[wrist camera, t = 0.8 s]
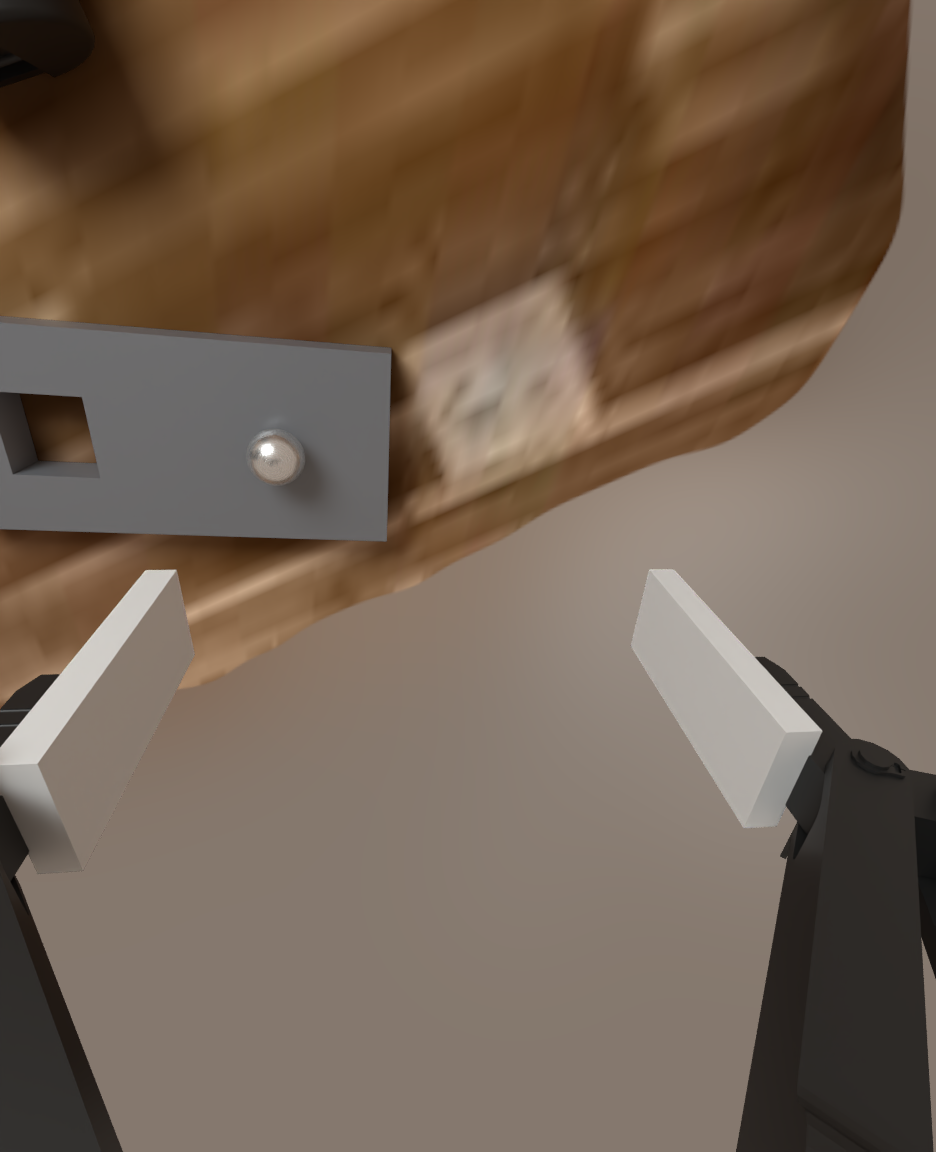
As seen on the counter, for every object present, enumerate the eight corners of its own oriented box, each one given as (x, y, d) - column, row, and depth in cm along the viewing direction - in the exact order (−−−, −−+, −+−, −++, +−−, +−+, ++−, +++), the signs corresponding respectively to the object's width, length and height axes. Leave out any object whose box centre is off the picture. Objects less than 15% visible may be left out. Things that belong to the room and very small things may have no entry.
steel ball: (255, 473, 32) (243, 492, 29) (250, 420, 31) (237, 435, 28) (309, 476, 32) (302, 494, 30) (307, 424, 31) (299, 439, 28)
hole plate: (-17, 510, 34) (-45, 527, 32) (-86, 308, 28) (-126, 312, 26) (387, 525, 37) (386, 541, 35) (391, 347, 32) (391, 353, 30)
